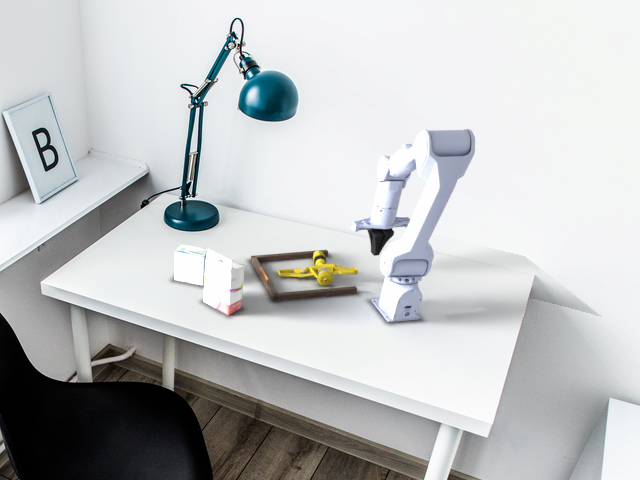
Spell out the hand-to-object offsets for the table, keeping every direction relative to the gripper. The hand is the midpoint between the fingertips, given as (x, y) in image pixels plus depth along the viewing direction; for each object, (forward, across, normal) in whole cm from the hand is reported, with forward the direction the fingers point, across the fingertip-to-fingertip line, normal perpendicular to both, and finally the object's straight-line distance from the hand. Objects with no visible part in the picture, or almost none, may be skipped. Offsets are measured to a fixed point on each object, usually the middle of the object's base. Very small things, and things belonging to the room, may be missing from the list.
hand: (374, 253), depth 167 cm
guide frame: (+5, +18, 0) cm, 19 cm away
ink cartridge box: (+5, +42, +10) cm, 44 cm away
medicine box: (+5, +47, -3) cm, 48 cm away
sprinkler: (+5, +15, -1) cm, 16 cm away
